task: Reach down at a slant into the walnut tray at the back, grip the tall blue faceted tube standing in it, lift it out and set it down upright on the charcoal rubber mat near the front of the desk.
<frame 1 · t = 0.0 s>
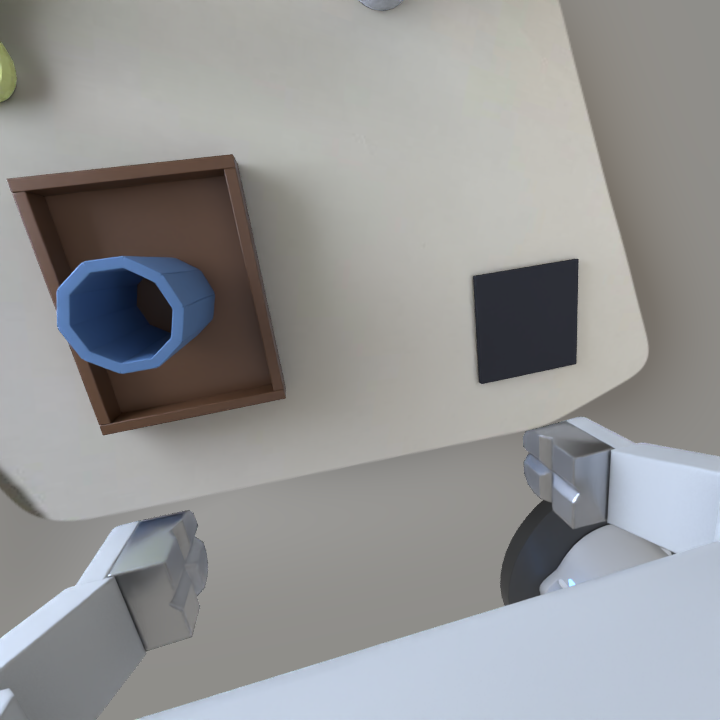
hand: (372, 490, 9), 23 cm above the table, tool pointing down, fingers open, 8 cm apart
tray: (174, 299, 28), on the table
blue faceted tube: (172, 300, 28), resting on tray
mat: (525, 322, 35), on the table
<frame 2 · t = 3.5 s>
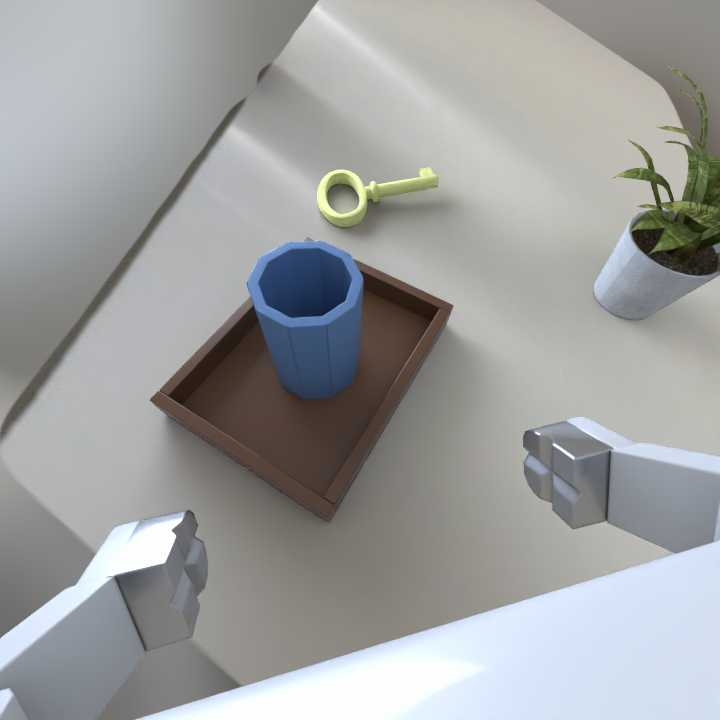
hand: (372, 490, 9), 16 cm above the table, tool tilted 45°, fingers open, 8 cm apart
house plant: (614, 285, 34), on the table
tray: (317, 365, 28), on the table
blue faceted tube: (316, 362, 28), resting on tray
key: (373, 201, 38), on the table
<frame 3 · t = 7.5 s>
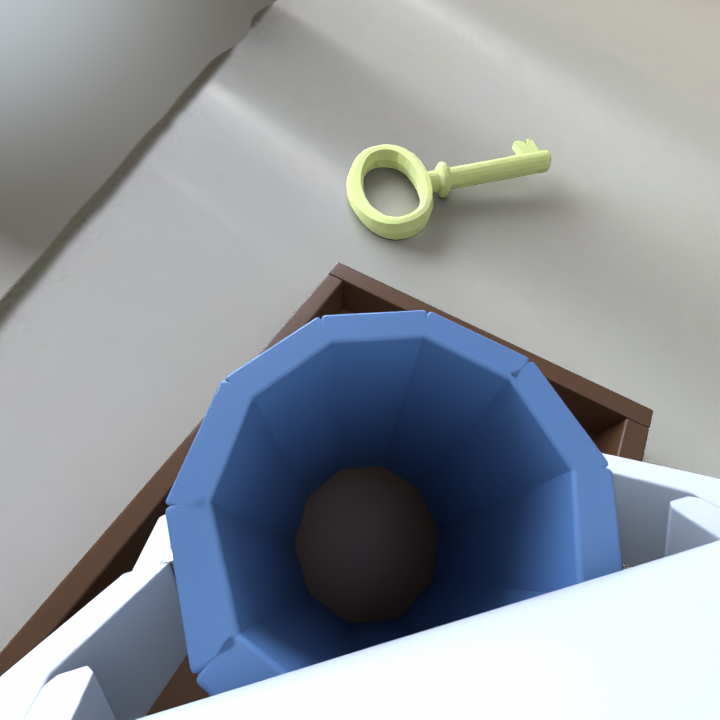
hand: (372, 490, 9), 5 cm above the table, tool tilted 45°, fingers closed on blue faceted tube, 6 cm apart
tray: (367, 538, 13), on the table
blue faceted tube: (367, 537, 13), point 1 cm above the table, touching gripper, tray
key: (437, 196, 23), on the table
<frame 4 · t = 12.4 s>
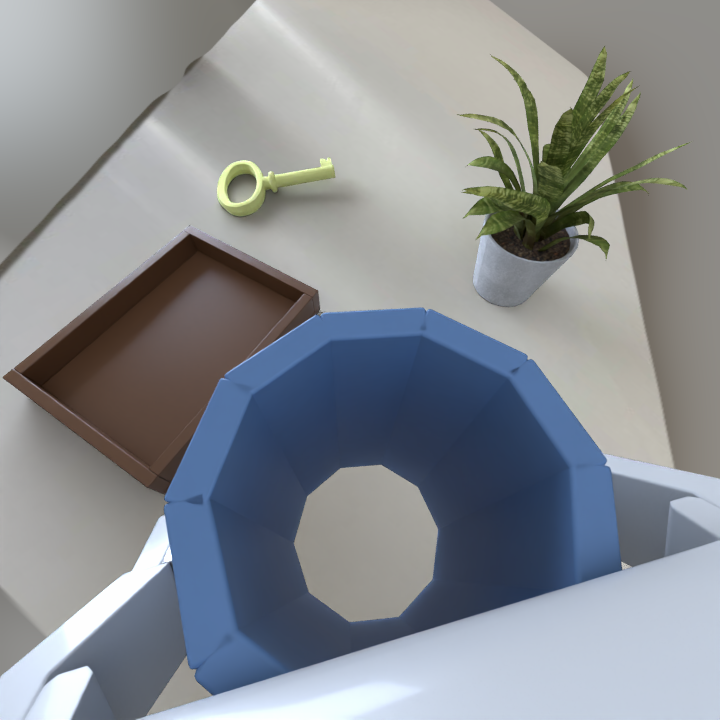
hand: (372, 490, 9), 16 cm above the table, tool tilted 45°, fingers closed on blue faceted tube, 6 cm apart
house plant: (495, 273, 34), on the table
tray: (185, 348, 29), on the table
blue faceted tube: (366, 536, 13), point 11 cm above the table, touching gripper
key: (274, 191, 39), on the table
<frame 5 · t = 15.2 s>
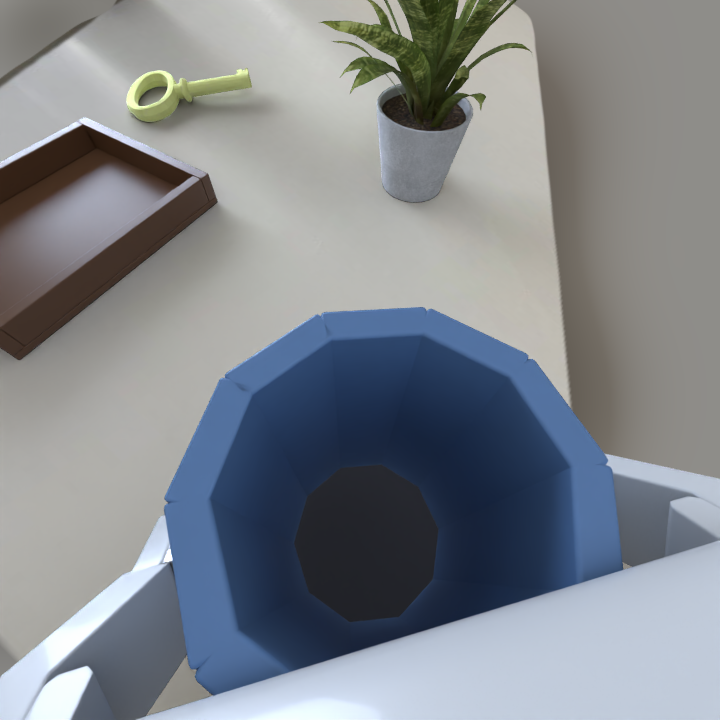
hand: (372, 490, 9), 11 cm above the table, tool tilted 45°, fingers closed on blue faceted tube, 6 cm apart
house plant: (407, 175, 33), on the table
tray: (68, 232, 28), on the table
blue faceted tube: (367, 536, 13), point 6 cm above the table, touching gripper
mat: (355, 548, 18), on the table
key: (190, 102, 38), on the table
when the fingers open (5 cm above the table, at t = 17.4 s): blue faceted tube stays where it is, resting on mat.
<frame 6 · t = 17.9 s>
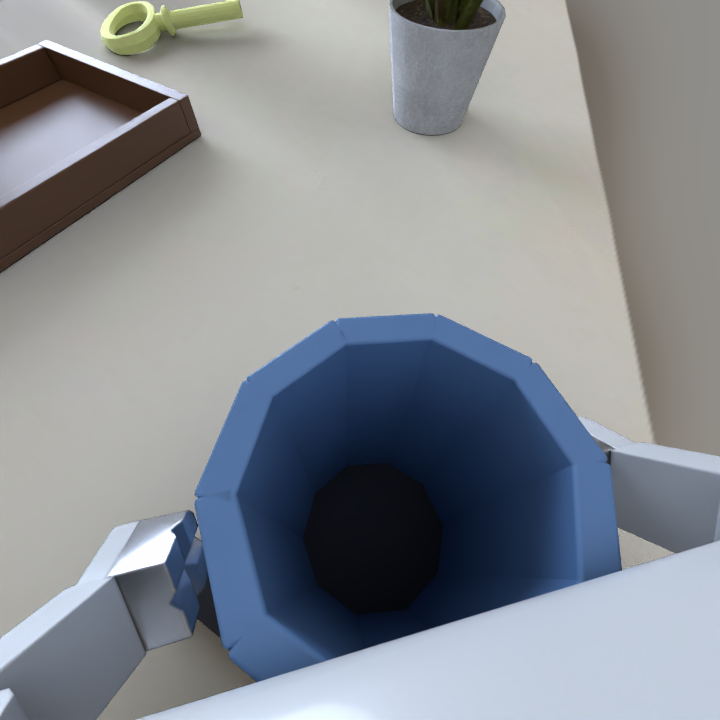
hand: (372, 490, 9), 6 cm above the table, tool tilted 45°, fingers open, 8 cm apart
house plant: (422, 108, 29), on the table
tray: (23, 167, 24), on the table
blue faceted tube: (373, 531, 13), resting on mat
mat: (369, 535, 14), on the table
key: (173, 37, 33), on the table
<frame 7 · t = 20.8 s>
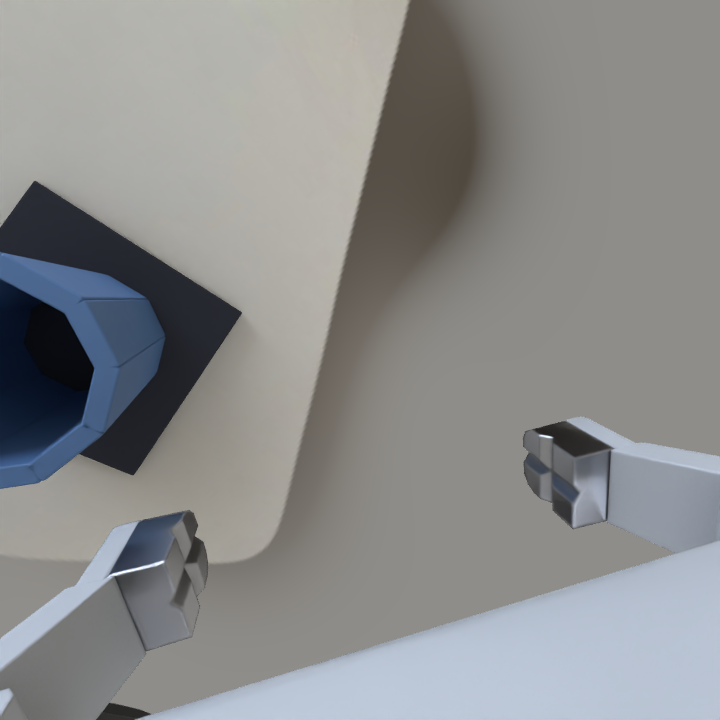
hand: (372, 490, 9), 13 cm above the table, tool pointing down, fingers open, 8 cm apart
blue faceted tube: (91, 339, 17), resting on mat
mat: (91, 340, 18), on the table
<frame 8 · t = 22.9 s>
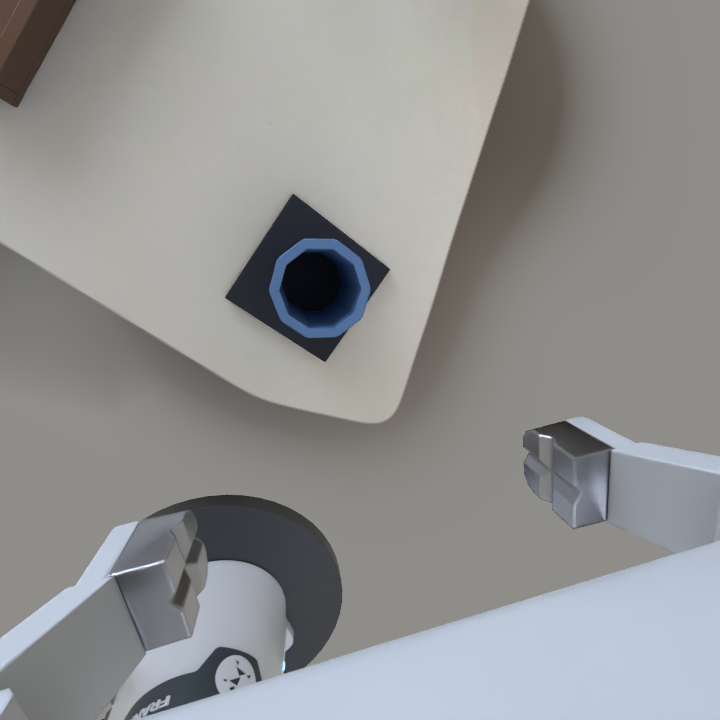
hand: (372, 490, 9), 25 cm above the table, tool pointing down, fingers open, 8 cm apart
blue faceted tube: (311, 282, 31), resting on mat
mat: (309, 282, 32), on the table
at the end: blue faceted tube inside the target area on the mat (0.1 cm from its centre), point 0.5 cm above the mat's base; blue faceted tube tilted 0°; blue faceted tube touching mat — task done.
